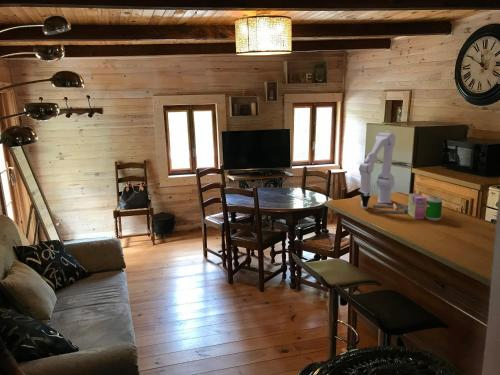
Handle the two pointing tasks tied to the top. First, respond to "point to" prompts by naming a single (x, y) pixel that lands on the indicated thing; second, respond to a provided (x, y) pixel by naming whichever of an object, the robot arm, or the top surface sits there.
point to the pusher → (394, 207)
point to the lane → (391, 207)
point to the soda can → (434, 208)
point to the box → (416, 206)
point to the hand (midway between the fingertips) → (364, 205)
